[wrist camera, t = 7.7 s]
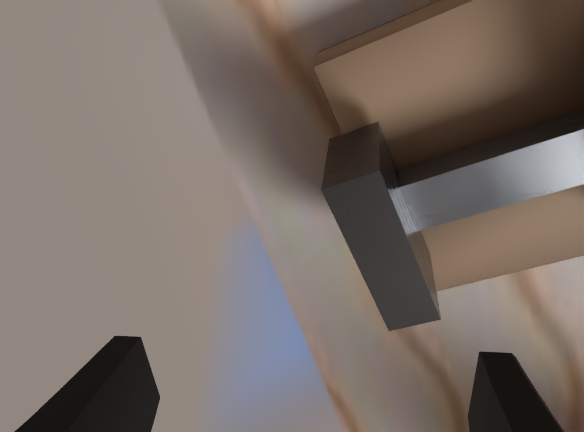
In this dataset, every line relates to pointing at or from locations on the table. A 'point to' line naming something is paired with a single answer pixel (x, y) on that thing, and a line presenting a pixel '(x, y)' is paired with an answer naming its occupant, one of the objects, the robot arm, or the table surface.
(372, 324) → the table surface
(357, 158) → the ram
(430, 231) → the press bed
